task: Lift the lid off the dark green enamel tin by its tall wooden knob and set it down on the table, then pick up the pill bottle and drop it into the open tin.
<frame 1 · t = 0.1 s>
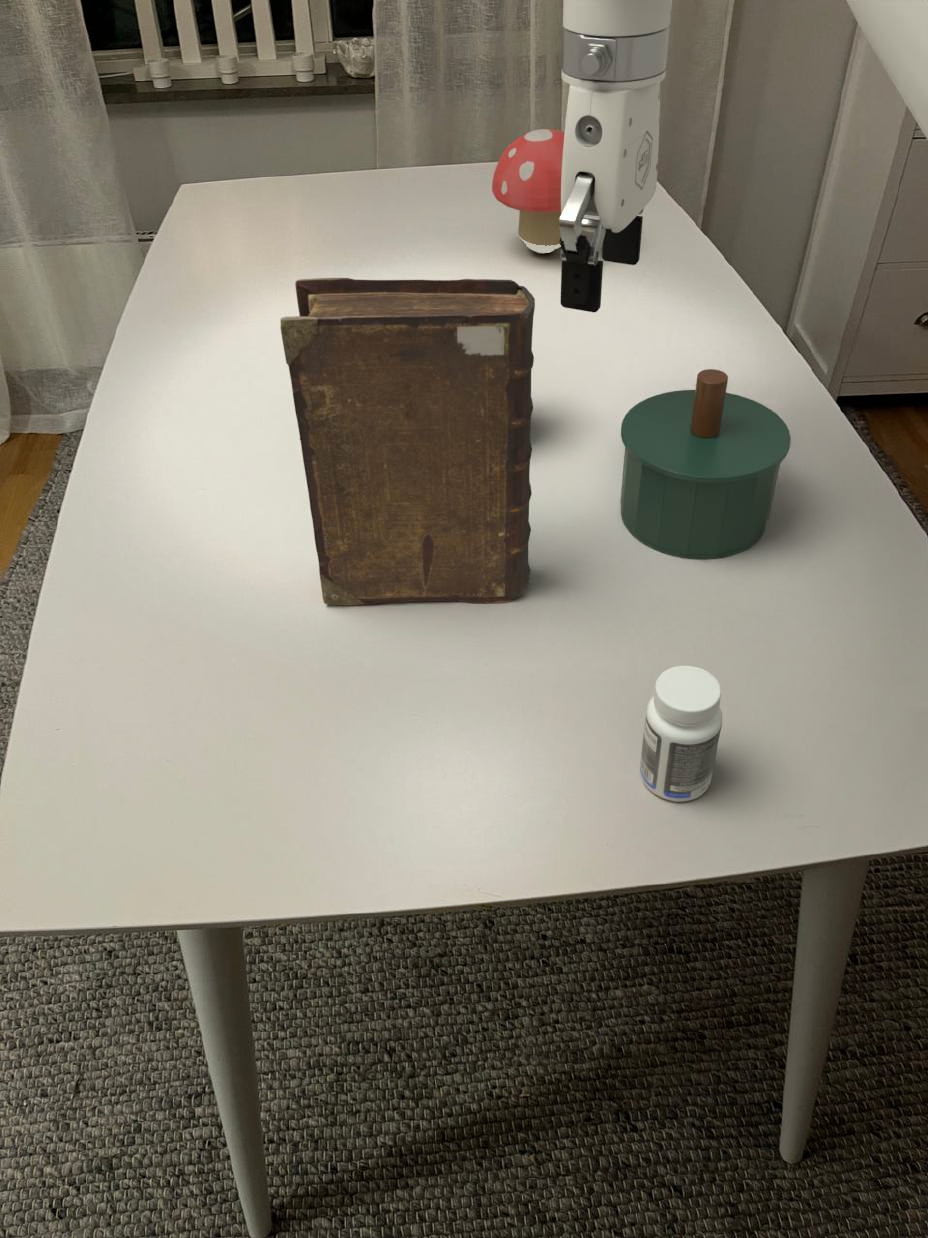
hand: (601, 284, 84), 18 cm above the table, tool pointing down, fingers open, 9 cm apart
tin: (692, 514, 89), on the table
tin lid: (704, 435, 84), point 8 cm above the table, touching tin
pill bottle: (674, 777, 68), on the table
book: (428, 588, 83), on the table
decorative mushroom: (543, 254, 133), on the table
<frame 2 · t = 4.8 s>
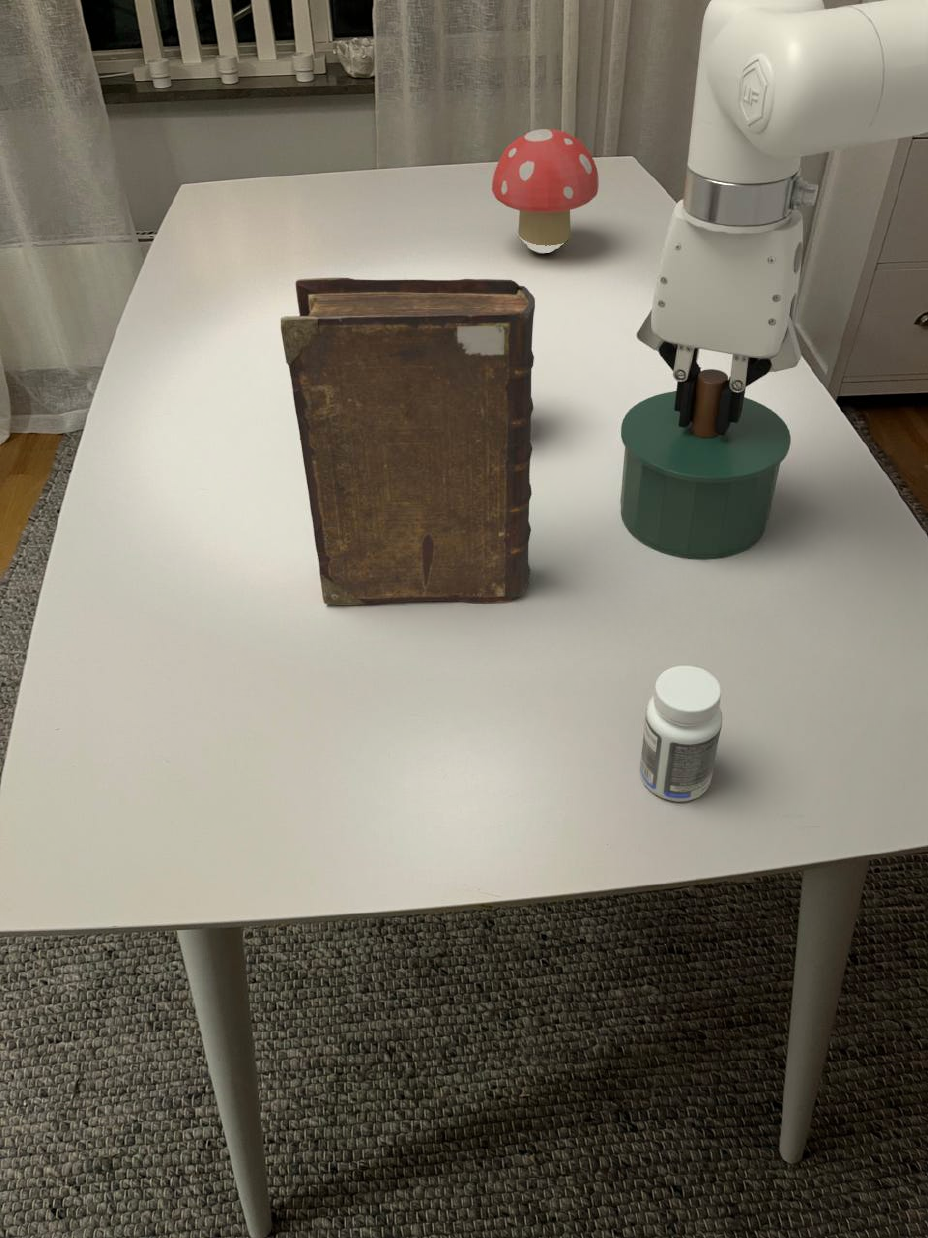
hand: (706, 421, 83), 9 cm above the table, tool pointing down, fingers closed on tin lid, 2 cm apart
tin lid: (704, 435, 84), point 8 cm above the table, touching gripper, tin
everything else where it was.
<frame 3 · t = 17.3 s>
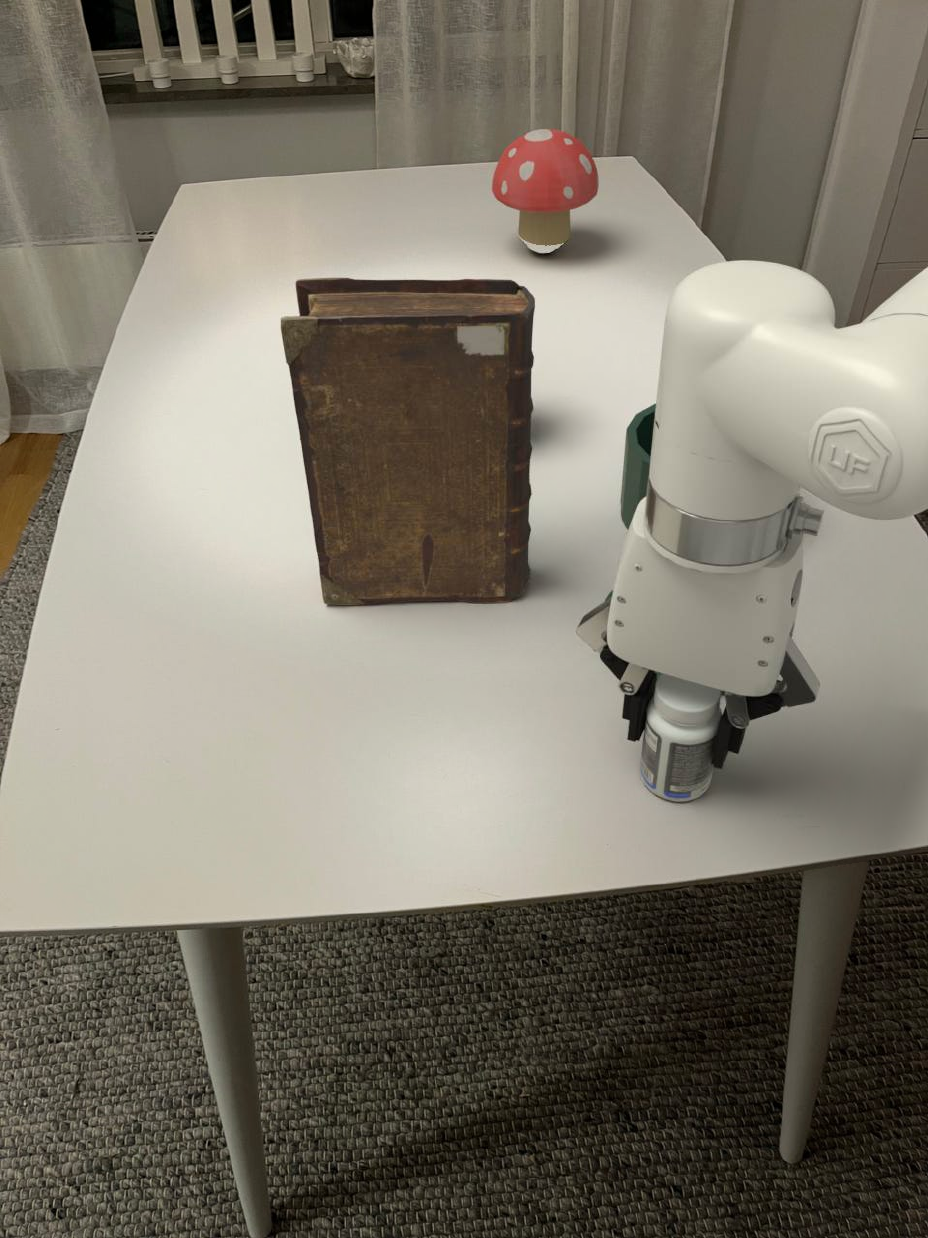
hand: (680, 737, 65), 4 cm above the table, tool pointing down, fingers closed on pill bottle, 4 cm apart
tin lid: (690, 626, 78), point 1 cm above the table
pill bottle: (674, 777, 68), on the table, touching gripper
everything else where it was.
when the fingers open (10 cm above the table, at t = 25.2 s): pill bottle drops 5 cm, resting on tin.
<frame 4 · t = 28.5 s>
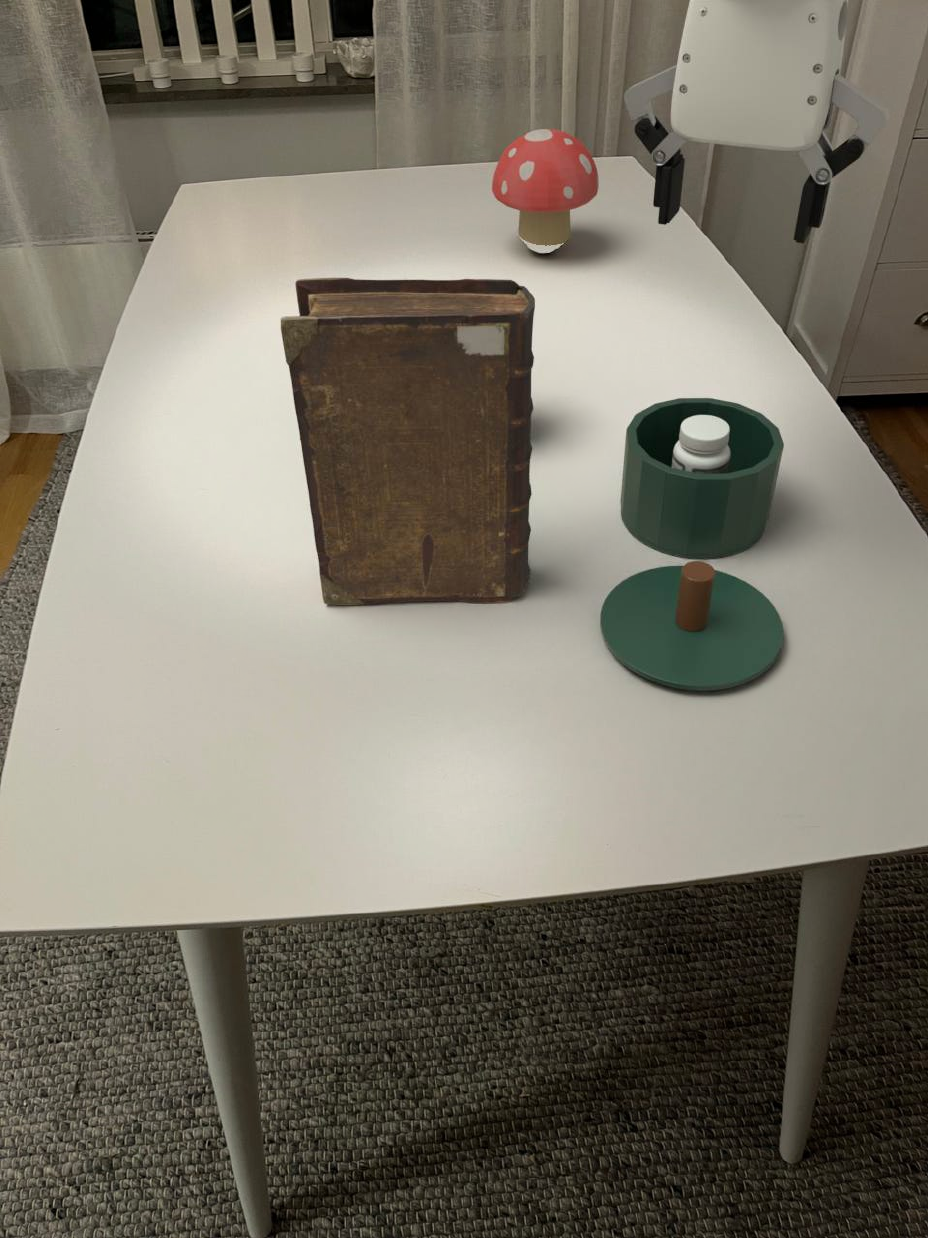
hand: (734, 226, 73), 25 cm above the table, tool pointing down, fingers open, 9 cm apart
pill bottle: (693, 511, 89), resting on tin
everything else where it was.
at the end: tin lid inside the target area on the table beside the tin (1.0 cm from its centre), point 0.6 cm above the table; pill bottle inside the target area in the tin (0.0 cm from its centre), point 0.3 cm above the tin's base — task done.
